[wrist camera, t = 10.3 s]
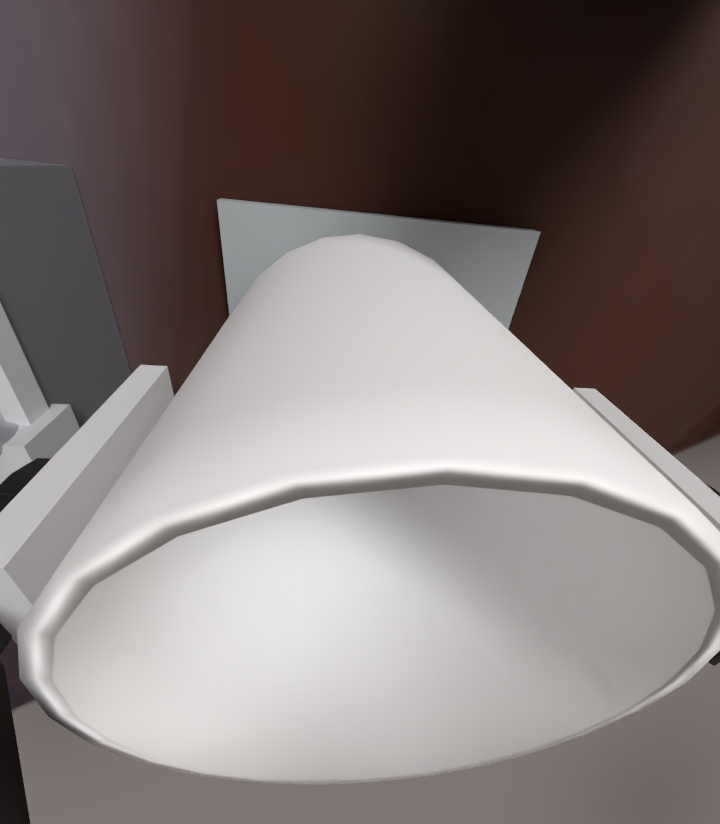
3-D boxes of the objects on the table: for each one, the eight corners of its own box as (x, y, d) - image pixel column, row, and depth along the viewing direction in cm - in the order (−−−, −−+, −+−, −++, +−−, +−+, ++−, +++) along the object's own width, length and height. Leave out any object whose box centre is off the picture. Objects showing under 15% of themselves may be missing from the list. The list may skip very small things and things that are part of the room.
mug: (255, 185, 12) (-141, 293, 2) (567, 296, 14) (1066, 578, 5) (221, 420, 16) (63, 786, 7) (458, 470, 19) (587, 783, 9)
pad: (221, 198, 12) (217, 199, 12) (533, 229, 13) (540, 232, 13) (247, 451, 18) (245, 459, 18) (459, 457, 19) (462, 465, 19)
